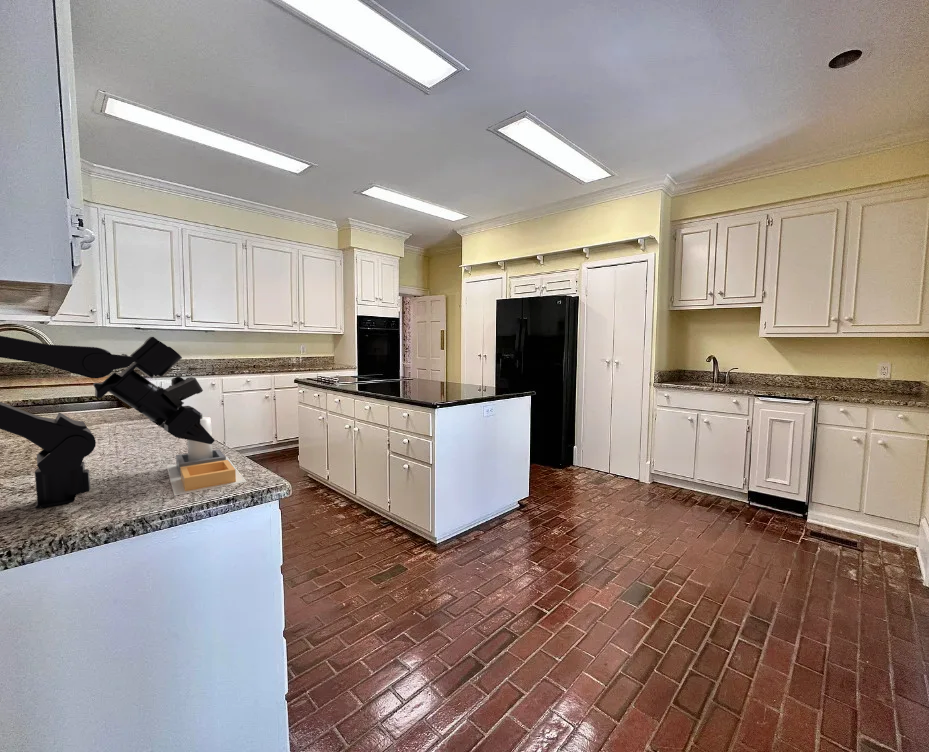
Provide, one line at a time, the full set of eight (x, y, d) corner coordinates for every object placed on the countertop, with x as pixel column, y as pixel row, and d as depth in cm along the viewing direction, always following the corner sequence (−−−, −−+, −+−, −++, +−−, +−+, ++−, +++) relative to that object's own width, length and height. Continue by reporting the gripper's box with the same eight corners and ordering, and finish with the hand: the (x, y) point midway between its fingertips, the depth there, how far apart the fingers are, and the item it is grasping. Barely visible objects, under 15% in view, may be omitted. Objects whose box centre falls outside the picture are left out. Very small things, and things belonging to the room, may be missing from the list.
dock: (174, 500, 76) (173, 482, 75) (166, 470, 93) (165, 455, 92) (247, 486, 83) (246, 469, 83) (227, 460, 100) (226, 446, 100)
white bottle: (189, 471, 89) (187, 416, 88) (187, 466, 92) (184, 413, 91) (214, 467, 92) (212, 414, 91) (211, 462, 95) (209, 411, 94)
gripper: (185, 367, 81) (248, 415, 90) (163, 363, 93) (220, 405, 102) (137, 412, 76) (208, 458, 85) (121, 401, 88) (184, 442, 97)
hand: (206, 438), depth 92 cm, fingers open, 9 cm apart
